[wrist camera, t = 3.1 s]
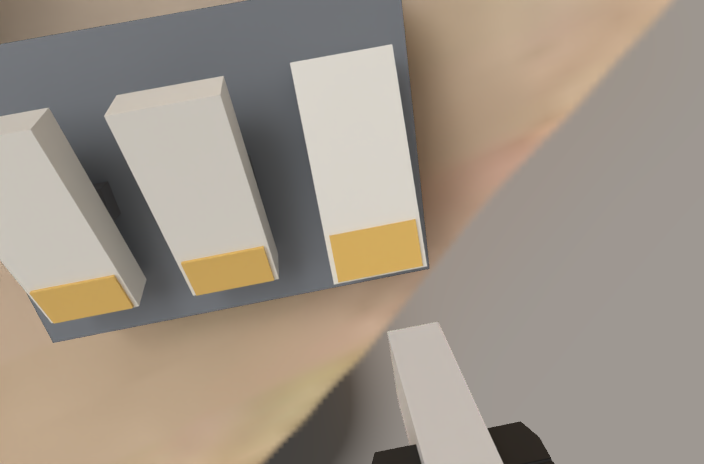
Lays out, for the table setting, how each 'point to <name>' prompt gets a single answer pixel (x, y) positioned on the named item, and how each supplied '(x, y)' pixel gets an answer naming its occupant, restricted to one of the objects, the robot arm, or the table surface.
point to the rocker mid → (197, 182)
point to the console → (251, 112)
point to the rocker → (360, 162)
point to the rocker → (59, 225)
